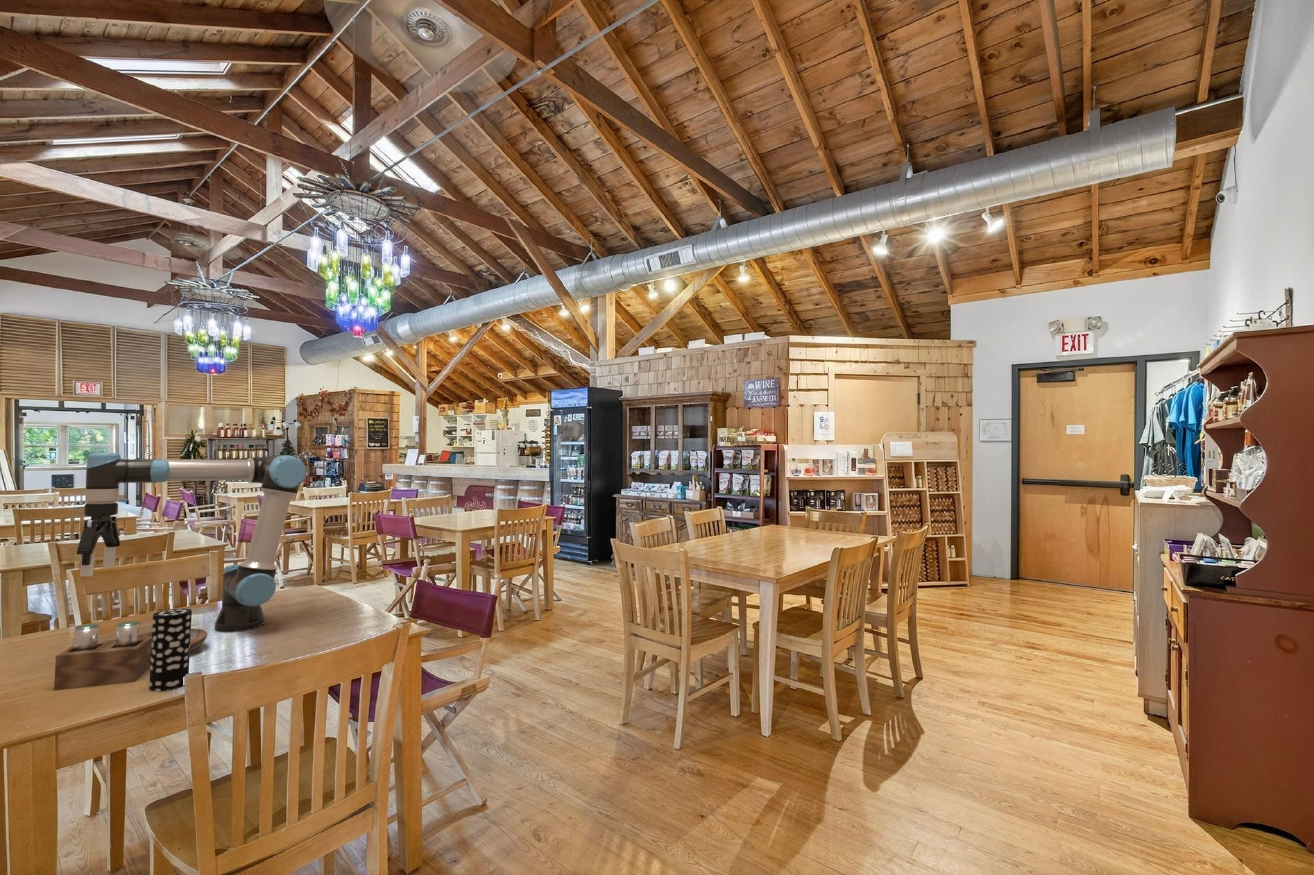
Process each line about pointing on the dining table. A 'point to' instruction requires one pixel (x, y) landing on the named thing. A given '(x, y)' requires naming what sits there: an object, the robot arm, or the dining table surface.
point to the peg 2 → (127, 634)
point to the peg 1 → (86, 637)
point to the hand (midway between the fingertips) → (98, 571)
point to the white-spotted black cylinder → (170, 649)
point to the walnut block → (102, 664)
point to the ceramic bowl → (195, 640)
